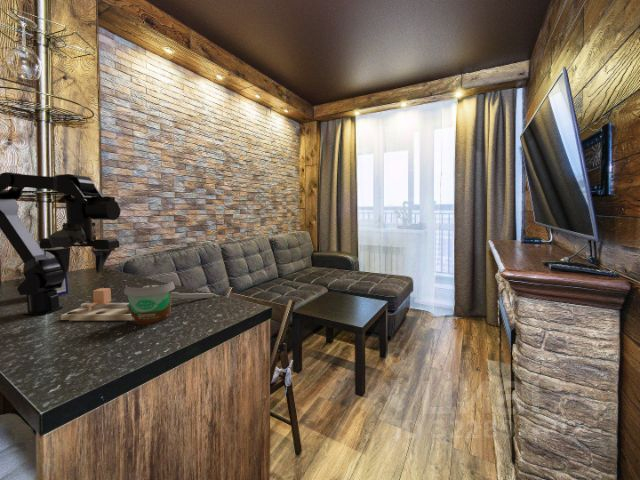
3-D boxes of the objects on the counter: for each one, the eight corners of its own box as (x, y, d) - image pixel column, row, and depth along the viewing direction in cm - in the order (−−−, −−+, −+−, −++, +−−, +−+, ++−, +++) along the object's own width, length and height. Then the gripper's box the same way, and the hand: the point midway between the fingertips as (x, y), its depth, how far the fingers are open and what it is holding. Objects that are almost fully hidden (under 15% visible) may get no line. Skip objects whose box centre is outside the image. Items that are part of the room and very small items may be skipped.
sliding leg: (83, 311, 84) (82, 294, 83) (101, 303, 91) (100, 288, 90) (94, 311, 84) (93, 294, 83) (111, 303, 91) (110, 288, 90)
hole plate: (61, 320, 82) (59, 297, 82) (91, 307, 93) (89, 287, 93) (131, 320, 82) (130, 297, 82) (153, 307, 93) (151, 287, 93)
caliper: (155, 310, 91) (154, 290, 91) (153, 310, 92) (152, 289, 91) (217, 296, 106) (217, 279, 106) (216, 296, 107) (215, 278, 106)
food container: (123, 329, 76) (120, 290, 75) (125, 321, 82) (123, 285, 81) (176, 321, 82) (175, 285, 81) (176, 314, 87) (174, 280, 86)
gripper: (18, 219, 78) (23, 278, 80) (93, 221, 79) (96, 279, 81) (54, 218, 89) (57, 270, 91) (119, 219, 90) (121, 271, 92)
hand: (82, 272), depth 88 cm, fingers open, 9 cm apart
